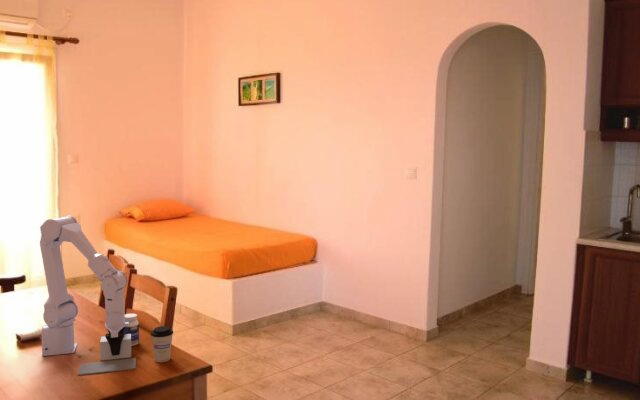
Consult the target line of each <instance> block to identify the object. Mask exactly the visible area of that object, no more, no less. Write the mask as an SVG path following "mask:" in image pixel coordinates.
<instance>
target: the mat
mask: <svg viewBox="0 0 640 400" xmlns="http://www.w3.org/2000/svg"><path fill="white" fill-rule="evenodd" d="M136 362H137V358H136V357H133V358H132V357H129V358H120V359H111V360H101V361H95V362H86V363H80V366H79V370H78V372H77V376H78V377H79V376H80V377H81V376H87V375H96V374H97V375H98V374H104V373H105V372H106V373H113V372H115V373H116V372H123V371H131V370H132V371H133V370H136V369H137V363H136Z"/></svg>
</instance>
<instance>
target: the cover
mask: <svg viewBox="0 0 640 400" xmlns="http://www.w3.org/2000/svg"><path fill="white" fill-rule="evenodd" d="M99 346H100V347H99V348H100V349H99V350H100V351H99V352H100V353H99V355H100V361H111V360H121V359H130V358H132V346H131V334H125V335H124V337H123V340H122V343H121V348H120V354H119V355H114V356H112V353H111V349H110V345H109V343H108V341H107V339H106V337H105V336H100V341H99Z"/></svg>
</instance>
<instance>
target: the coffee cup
mask: <svg viewBox="0 0 640 400" xmlns="http://www.w3.org/2000/svg"><path fill="white" fill-rule="evenodd" d="M173 335H174V330H173V329H171V328H170V327H169V326H165V325H161V326H157V327H155V328H154V329H153V330H152V331H150V336H151V343H152V349H153V357H154V362H156V363H165V362H168V361H170V359H171V352H172V342H173Z"/></svg>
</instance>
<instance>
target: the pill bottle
mask: <svg viewBox="0 0 640 400" xmlns="http://www.w3.org/2000/svg"><path fill="white" fill-rule="evenodd" d="M125 322H129V325H128V326H125V329H124V331H123V333H125V334H131V347H133V346H137V345H138V344H139V343H140V323H139V320H138V314H136V313H126V314H125Z"/></svg>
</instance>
